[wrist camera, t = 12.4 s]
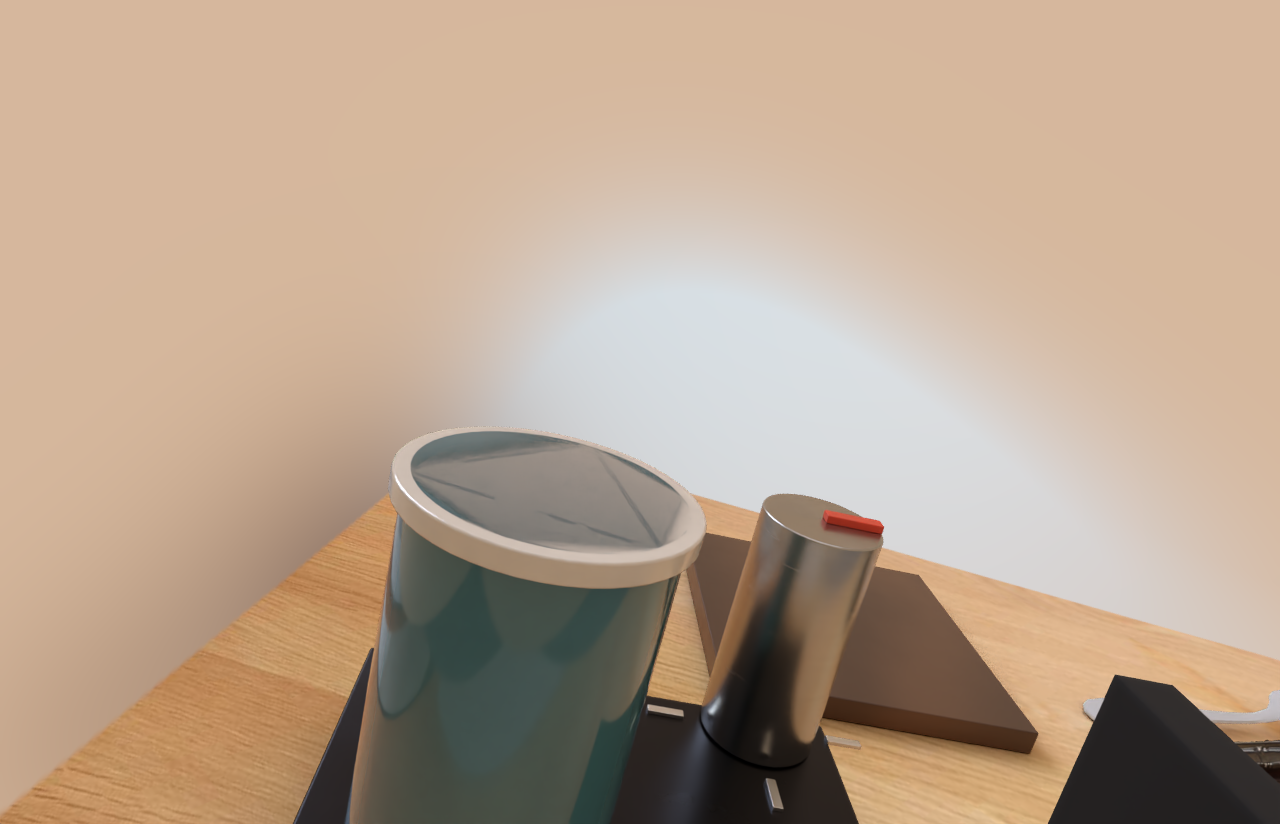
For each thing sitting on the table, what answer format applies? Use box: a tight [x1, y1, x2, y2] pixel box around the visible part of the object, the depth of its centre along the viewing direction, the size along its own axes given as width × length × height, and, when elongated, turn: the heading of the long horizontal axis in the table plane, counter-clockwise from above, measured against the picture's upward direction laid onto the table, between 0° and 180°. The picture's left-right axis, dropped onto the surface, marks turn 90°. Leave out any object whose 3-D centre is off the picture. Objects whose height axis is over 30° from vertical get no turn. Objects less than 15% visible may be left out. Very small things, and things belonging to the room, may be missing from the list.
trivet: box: [686, 533, 1038, 753], centre depth 48 cm, size 16×16×1 cm
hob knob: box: [700, 494, 884, 768], centre depth 32 cm, size 4×4×9 cm
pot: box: [344, 427, 707, 824], centre depth 22 cm, size 7×7×12 cm
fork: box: [1083, 690, 1280, 724], centre depth 49 cm, size 3×21×3 cm, turn 103°
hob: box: [293, 648, 861, 824], centre depth 29 cm, size 19×17×3 cm
